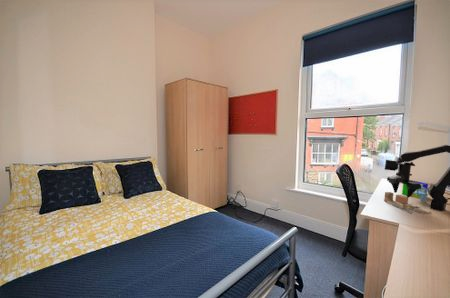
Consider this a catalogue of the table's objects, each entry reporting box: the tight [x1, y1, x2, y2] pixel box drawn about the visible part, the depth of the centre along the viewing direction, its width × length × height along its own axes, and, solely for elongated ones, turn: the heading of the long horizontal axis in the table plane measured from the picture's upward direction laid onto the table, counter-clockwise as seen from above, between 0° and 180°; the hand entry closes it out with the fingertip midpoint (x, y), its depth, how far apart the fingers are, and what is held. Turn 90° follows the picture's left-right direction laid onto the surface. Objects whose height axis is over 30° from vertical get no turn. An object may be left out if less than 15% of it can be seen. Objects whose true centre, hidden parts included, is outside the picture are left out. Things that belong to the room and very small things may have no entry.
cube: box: [394, 194, 409, 205], centre depth 134 cm, size 4×4×4 cm
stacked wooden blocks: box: [383, 191, 410, 210], centre depth 130 cm, size 5×13×6 cm, turn 4°
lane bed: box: [391, 203, 432, 214], centre depth 128 cm, size 13×20×2 cm, turn 4°
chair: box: [414, 187, 429, 203], centre depth 137 cm, size 8×8×12 cm
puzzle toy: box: [401, 179, 429, 200], centre depth 151 cm, size 10×10×10 cm
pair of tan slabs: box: [404, 203, 431, 214], centre depth 124 cm, size 5×11×1 cm, turn 4°
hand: (401, 194), depth 134 cm, fingers open, 9 cm apart
